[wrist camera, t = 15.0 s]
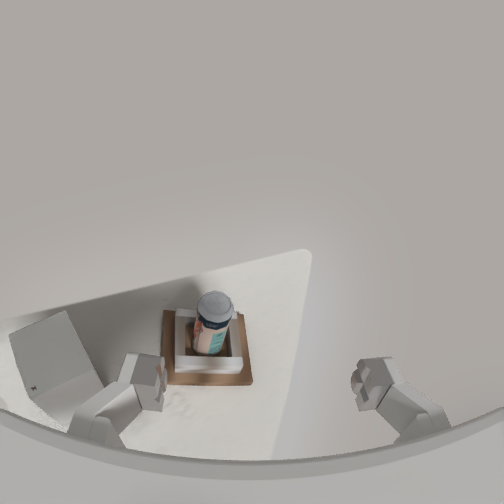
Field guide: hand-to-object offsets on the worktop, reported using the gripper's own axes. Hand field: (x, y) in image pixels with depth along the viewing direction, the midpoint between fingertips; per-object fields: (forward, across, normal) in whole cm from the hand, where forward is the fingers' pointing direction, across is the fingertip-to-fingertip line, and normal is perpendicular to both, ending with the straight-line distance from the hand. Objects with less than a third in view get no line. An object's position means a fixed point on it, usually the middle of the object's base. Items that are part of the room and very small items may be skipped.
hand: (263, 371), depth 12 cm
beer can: (+26, -5, -26) cm, 37 cm away
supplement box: (+14, -24, -28) cm, 39 cm away
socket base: (+27, -5, -27) cm, 39 cm away
